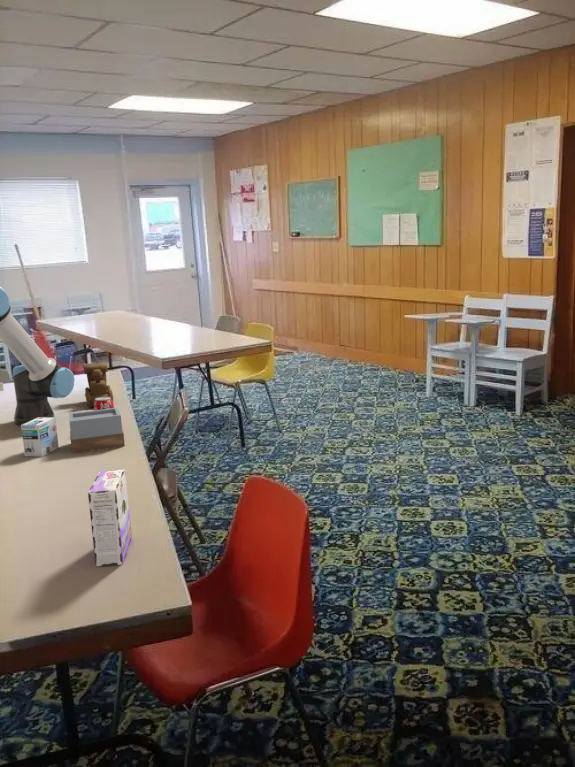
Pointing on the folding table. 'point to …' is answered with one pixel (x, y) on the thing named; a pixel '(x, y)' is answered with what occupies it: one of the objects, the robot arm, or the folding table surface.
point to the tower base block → (97, 442)
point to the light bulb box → (39, 436)
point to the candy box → (110, 517)
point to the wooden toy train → (96, 382)
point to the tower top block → (95, 423)
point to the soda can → (103, 403)
